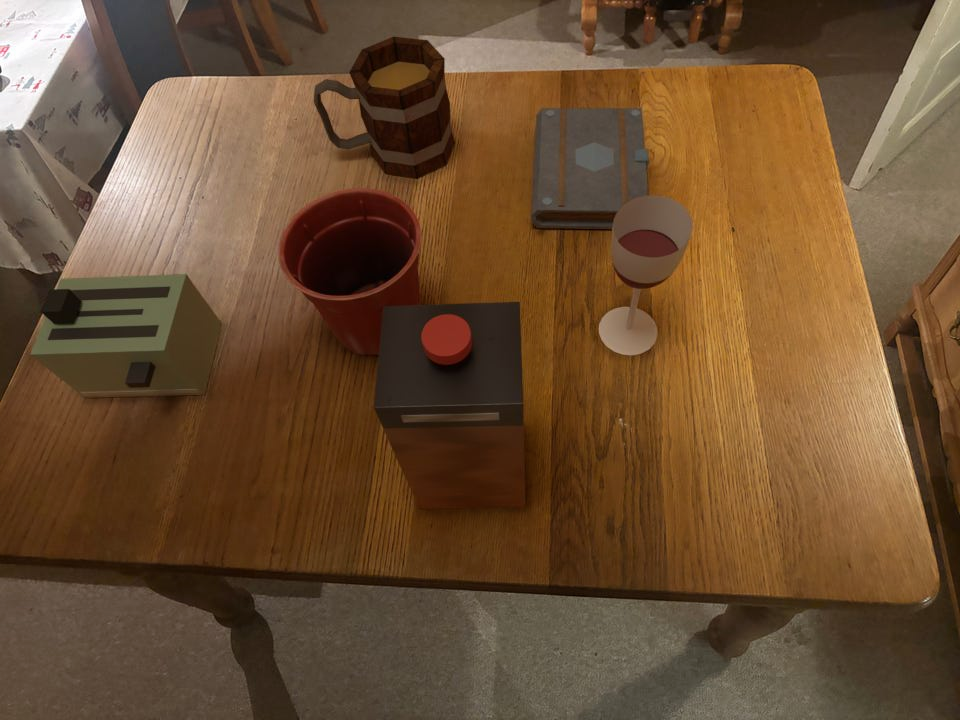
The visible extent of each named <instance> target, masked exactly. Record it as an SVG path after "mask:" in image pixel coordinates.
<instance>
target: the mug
mask: <svg viewBox="0 0 960 720" xmlns="http://www.w3.org/2000/svg"><path fill="white" fill-rule="evenodd" d="M445 59H446V58H445V57H444V56H443V55H442V54H441V52H439V50H438V49H436V47H435V46H434V45H432V43H431V42H430V41H429V40H428V39H420V38H410V37H403V36H392V37H389V38H387V39H384V40H381V41H379V42H376V43H374V44H372V45H370V46H366V47H363V48H362V49H361V50H360V51H359V53H358V55H357V57H356V60H355V61H354V62H353V64H352V66H351V68H350V70H349V72H348V73H349V76H350V78H351V80H352V83H353V85H354V87H350V86H347V85H345V84H344V83H342V82H340V80H339V81H338V80H334V79H328V78H325V79H324V80H322V81H320V82H318V83H317V84H315V85H314V90H313V91H314V92H313V104H314V107H315V108H316V111H317V112H318V113H317V114H319V116H320V119H321V122H322V124H323V127H324V130H325V132H326V134H327V137H328V139H329V141H330V142H331V143H332V145H334V146H335V147H336V148H337V149H339V150H340V149H341V150H346V151H349V150H352V149H355V148H357V147H361V146H365V145H368V144H369V146H370V154H371V155H370V156H371V157H372V158H373V160H374V161H375V162H376V163H377V165H378V166H379V167H380V169H381V170H382V172H383V173H384V174H385V175H387V176H395V177H401V178H408V179H415V180H418V179H420V178H422V177H425V176H427V175H428V174H431V173H433V172H435V171H438V170H440V169H442V168H445V167H446V166H447V164H448V162H449V159H450V157H451V154H452V152H453V149H454V147H455V144H456V141H455V137H454V133H453V130H452V121H451V103H450V98H449V94H448V89H447V84H446V83H447V82H446V77H445V76H446V75H445V69H446V68H445V67H446V65H445V61H446V60H445ZM327 91H330V92H334V93H337V94H338V95H341V96H342V97H343V98H346V99H348V100H358V106H359V110H360V111H359V112H360V118H361V119H362V122H363V125H364V127H365V129H366V132H364V133H361V134H358V135H355V136H352V137H351V138H348V139H346V138H341V137H339V135H337V133H336V132H335V131H334V128H333V125H332V122H331V119H330V116H329V113H328V110H327V109H326V107H325V106H324V103H323V101H322V94H323V93H325V92H327Z"/></svg>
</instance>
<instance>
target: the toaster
mask: <svg viewBox="0 0 960 720" xmlns="http://www.w3.org/2000/svg"><path fill="white" fill-rule="evenodd" d="M56 289H70V290H71V291H72V292H73V293H74V294H75V295H76V296H77V297H78V298H79V299H80V300H81V301H82V303H81V305H80V308H79V311H78V313H77V316H76V318H75V321H74V323H73V324H53V323H52V322H51V321H50V320H49V319H48V318H47V317H46V316H45V315H44V316H45V317H44V319H43V322H42V324H41V326H40V328H39V332H38V334H37V336H36V339H35V340H34V343H33V346H32V348H31V351H30V353H29V355H30V356H31V357H32V358H33V359H35V360H36V361H37V362H39V363H40V364H41V365H42V366H44V367H45V369H48V370H49V371H50V372H51V373H53V374H54V375H55V376H56V377H57V378H58V379H60V380H61V381H63V382H64V383H66V385H68V387H70V388H72V389H73V390H74V391H76V393H78V394H79V395H80V396H82V397H83V398H85V399H90V398H91V399H93V398H127V397H128V398H130V397H133V398H134V397H166V396H167V397H169V396H203V395H204V396H205V395H206V391H207V387H208V382H209V378H210V375H211V370H212V365H213V362H214V359H215V355H216V350H217V345H218V343H219V342H218V341H219V337H220V333H221V328H222V325H223V323H222V322H221V320H220V319H219V317H218V316H217V315H216V313H215V312H214V310H213V309H212V307H211V306H210V305H209V303H208V302H207V301H206V299H205V298H204V296H203V295H202V294H201V292H200V291H199V289H198V288H197V287H196V285H195V284H194V283H193V281H192V280H191V279H190V277H189V276H188V274H186V273H178V274H177V273H176V274H175V273H174V274H173V273H172V274H151V275H150V274H149V275H148V274H147V275H125V276H97V277H95V276H93V277H69V278H68V277H67V278H60V279H59V282H58V285H57V286H56Z"/></svg>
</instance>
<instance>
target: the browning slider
mask: <svg viewBox="0 0 960 720" xmlns="http://www.w3.org/2000/svg"><path fill="white" fill-rule="evenodd" d="M81 303H82V301H81V300H80V299H79V298H78V297H77V296H76V295H75V294H74V293H73V292H72V291H71V290H70V289H57V288H55V289H53V288H52V289H49V290H48V292H47V295H46V298H45V300H44V303H43V304H42V308H41V310H40V313H41V314H42V315H43V316H46V317H47V318H48V319H49V320H50V321H51V322H52V323H53V324H73V323H74V321H75V318H76V316H77V313H78V311H79V308H80V305H81Z"/></svg>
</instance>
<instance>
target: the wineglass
mask: <svg viewBox="0 0 960 720" xmlns="http://www.w3.org/2000/svg"><path fill="white" fill-rule="evenodd" d="M693 222H694V221H693V219H692V216H691V214H690V212H689V210H688V209H687V208H686V207H685V206H684V205H683V204H682V203H680V202H679V201H677V200H675V199H673V198H671V197H667V196H664V195H658V194H657V195H656V194H648V196H642V197H638V198H635V199H633V200H631V201H629V202H627V203H626V204H625V205H623V206H622V207H621V208H620V209H619V211H618V212H617V214H616V216H615V218H614V222H613V228H612V229H611V243H610V251H611V252H610V253H611V254H610V255H611V261H612V266H613V270H614V271H615V273H616V276H617V277H618V278H619V280H621V282H622V283H624V284H625V285H626V286H627V287H630V288H633V294H632V298H631V302H630V306H620V307H615V308H613V309H611V310H609V311H607V312H606V313H605V314H604V315H603V316H602V317H601V319H600V322H599V324H598V334H599V337H600V338H599V339H600V340H601V342H602V343H603V344H604V345H605V347H607V348H608V349H609V350H611V351H612V352H613V353H617V354H619V355H622V356H623V355H624V356H635V355H636V356H637V355H641V354H644V353H646V352H648V351H649V350H650V349H651V348H652V347H653V346H654V345H655V343H656V341H657V339H658V327H657V324H656V322H655V320H654V319H653V318H652V317H651V315H650V314H649V313H647V312H646V311H644V310H642V309H640V308H638V303H639V300H640V295H641V291H642V290H647V289H652V288H654V287H657V286H659V285H661V284H663V283H664V282H665V281H667V279H669V278H670V277H671V276H672V275H673V273H674V272H675V271H676V270H677V269H678V267H679V265H680V263H681V261H682V259H683V258H684V256H685V253H686V251H687V248H688V245H689V242H690V240H691V236H692V235H693V228H694V223H693Z"/></svg>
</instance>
